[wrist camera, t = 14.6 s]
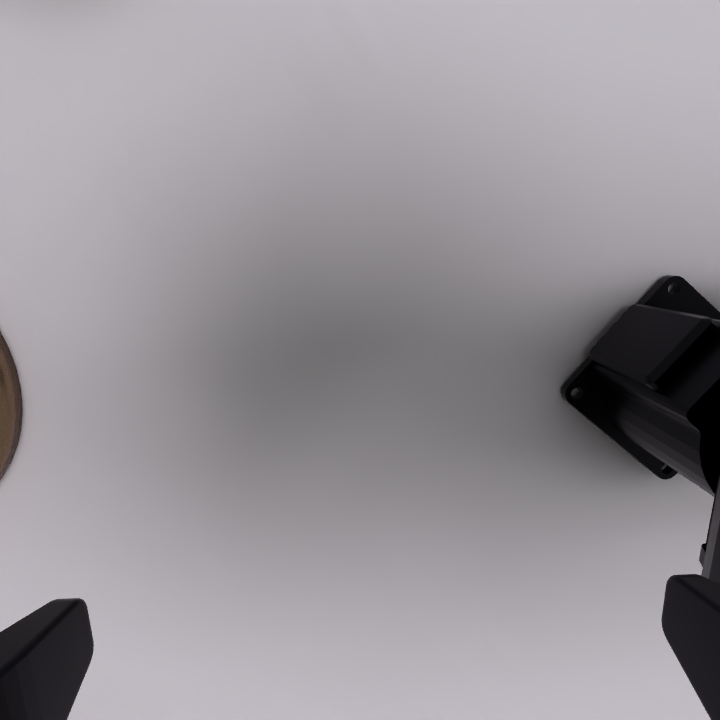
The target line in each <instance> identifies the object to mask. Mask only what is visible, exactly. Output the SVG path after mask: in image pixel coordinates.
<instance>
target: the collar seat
mask: <svg viewBox="0 0 720 720" xmlns="http://www.w3.org/2000/svg"><path fill="white" fill-rule="evenodd" d="M21 417H22V403H21V390H20V385H19V381H18V376H17V372H16V368H15V365H14V363H13V360H12V357H11V354H10V352H9V349H8V347H7V345H6V343H5V341H4V339H3V337H2V335H1V333H0V479H1V478H2V476H3V474H4V473H5V471H6V469H7V468H8V466H9V464H10V462H11V460H12V457H13V455H14V452H15V450H16V447H17V443H18V439H19V434H20V429H21Z"/></svg>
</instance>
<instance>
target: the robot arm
mask: <svg viewBox="0 0 720 720" xmlns="http://www.w3.org/2000/svg"><path fill="white" fill-rule="evenodd" d="M671 283H673V285H674V290H673V291H672V292H671V293H670V294H669V292H668V287H669V285H670V284H671ZM574 388H579V392H578V393H577V395H575V396H571V392H572V390H573V389H574ZM561 395H562V397H563V398H564V400H566V401H567V402H568V403H569V404H570V405H572V406H573V407H574V408H575V409H576V410H578V411H579V412H580V413H581V414H582V415H584V416H585V417H586V418H587V419H588V420H590V421H591V422H592V423H593V424H594V425H596V426H597V427H598V428H599V429H601V430H602V431H603V432H604V433H605V434H607V435H608V436H609V437H610V438H611V439H613V440H614V441H615V442H616V443H617V444H619V445H620V446H621V447H622V448H623V449H625V450H626V451H627V452H628V453H629V454H631V455H632V456H633V457H634V458H635V459H637V460H638V461H639V462H640V463H642V464H643V465H644V466H645V467H646V468H648V469H649V470H650V471H651V472H652V473H654V474H655V475H656V476H658V477H659V478H661V479H669V478H672V477H673V476H675V475H676V474H677V473H680V474H681V475H683V476H684V477H686V478H687V479H689V480H690V481H692V482H693V483H695V484H696V485H698V486H699V487H700V488H702V489H703V490H705V491H706V492H708V493H709V494H711V495H712V496H714V503H713V508H712V513H711V519H710V524H709V529H708V535H707V540H706V543H705V544H702V546H701V552H700V557H699V561H700V563H701V565H702V567H703V569H702V575H696V574H687V575H673V576H671V577H670V578H669V579H668V581H667V584H666V591H665V598H664V605H663V612H662V627H663V631H664V634H665V637H666V639H667V641H668V642H669V644H670V646H671V648H672V650H673V651H674V653H675V655H676V657H677V659H678V661H679V662H680V664H681V666H682V668H683V670H684V671H685V673H686V675H687V677H688V679H689V681H690V682H691V684H692V686H693V688H694V690H695V691H696V693H697V695H698V697H699V699H700V700H701V702H702V704H703V706H704V708H705V710H706V711H707V713H708V715H709V717H710V719H711V720H720V312H719V311H718V310H717V309H715V308H714V307H713V306H712V305H711V304H710V303H709V302H708V301H707V300H706V299H705V298H704V297H703V296H702V295H701V294H699V293H698V292H697V291H696V290H695V289H694V288H693V287H692V286H691V285H690V284H689V283H688V282H687V281H686V280H685V279H683V278H682V277H680V276H669V275H668V276H665V277H663V278H661V279H660V280H659V281H658V282H657V283H656V284H655V285H654V286H653V288H652V289H651V290H650V291H649V292H648V293H647V294H646V295H645V296H644V297H643V298H642V299H641V301H640V302H639V303H638V304H637V305H632V306H631V307H630V308H629V309H628V310H627V311H626V312H625V313H624V314H623V315H622V316H621V317H620V319H619V320H618V321H617V322H616V323H615V324H614V325H613V326H612V327H611V328H610V329H609V331H608V332H607V333H606V334H605V335H604V336H603V337H602V338H601V339H600V340H599V341H598V342H597V344H596V345H595V346H594V347H593V348H592V349H591V350H590V356H589V357H588V358H587V359H586V360H585V361H584V363H583V364H582V365H581V366H580V367H579V368H578V369H577V370H576V371H575V372H574V373H573V375H572V376H571V377H570V378H569V379H568V380H567V381H566V382H565V383H564V385H563V386H562V388H561ZM664 464H667V466H666V468H664V469H663V470H661V468H662V466H663V465H664ZM93 647H94V644H93V637H92V631H91V626H90V620H89V615H88V609H87V605H86V603H85V601H84V600H82V599H80V598H72V599H56V600H53V601H51V602H49V603H47V604H46V605H44V606H43V607H41V608H39V609H38V610H36V611H34V612H33V613H31V614H29V615H28V616H26V617H24V618H23V619H21V620H20V621H18V622H16V623H15V624H13V625H11V626H10V627H8V628H6V629H5V630H3V631H2V632H0V720H67V718H68V716H69V713H70V711H71V708H72V706H73V703H74V701H75V699H76V696H77V694H78V691H79V689H80V686H81V684H82V681H83V679H84V677H85V674H86V672H87V669H88V667H89V664H90V662H91V659H92V655H93Z"/></svg>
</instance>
